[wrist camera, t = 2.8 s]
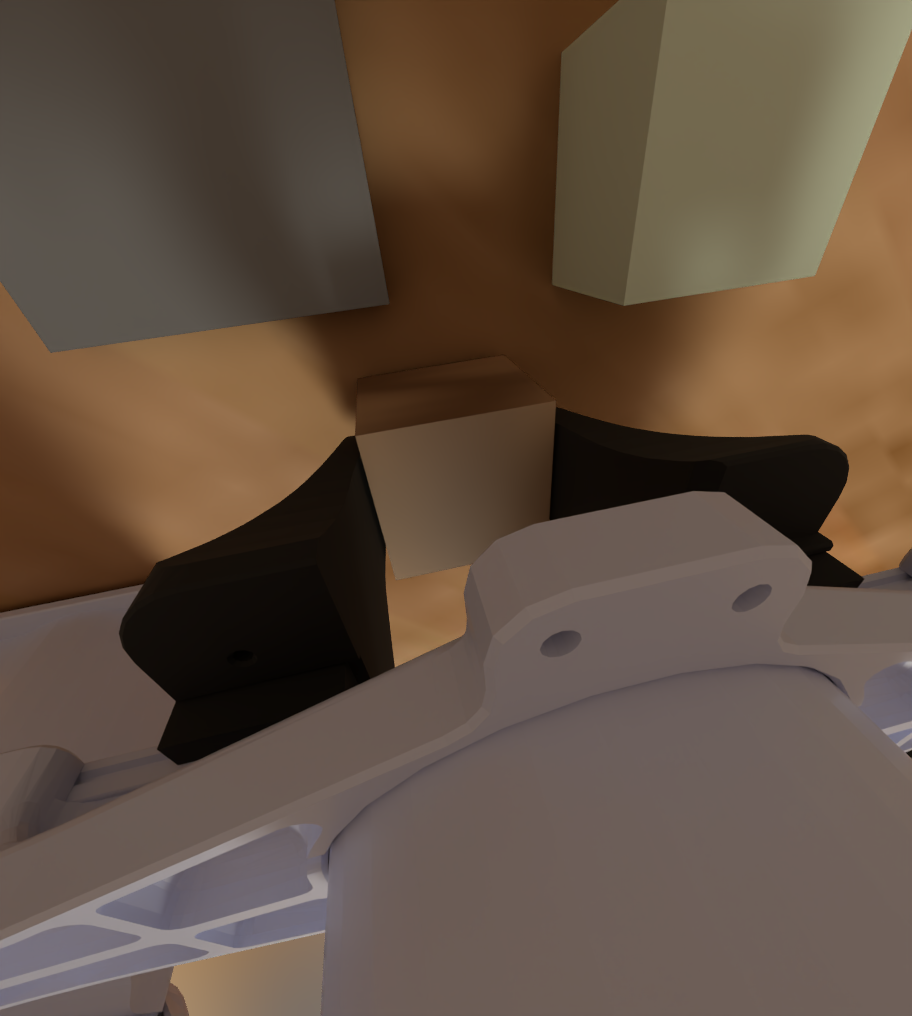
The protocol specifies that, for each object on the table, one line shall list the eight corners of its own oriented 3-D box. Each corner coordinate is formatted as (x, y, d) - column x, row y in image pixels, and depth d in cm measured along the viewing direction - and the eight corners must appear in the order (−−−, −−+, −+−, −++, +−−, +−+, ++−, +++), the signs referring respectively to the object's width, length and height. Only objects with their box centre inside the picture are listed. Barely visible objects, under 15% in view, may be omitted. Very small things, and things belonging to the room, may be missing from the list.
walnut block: (388, 501, 14) (395, 580, 11) (357, 378, 11) (355, 436, 8) (507, 478, 14) (547, 548, 11) (504, 354, 12) (556, 401, 9)
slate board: (75, 342, 10) (50, 352, 9) (-348, -303, 5) (-483, -403, 4) (387, 298, 11) (389, 304, 10) (278, -300, 6) (264, -385, 5)
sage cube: (550, 284, 11) (624, 305, 8) (559, 54, 9) (674, -50, 5) (692, 263, 12) (814, 275, 8) (743, 37, 9) (949, -69, 6)
